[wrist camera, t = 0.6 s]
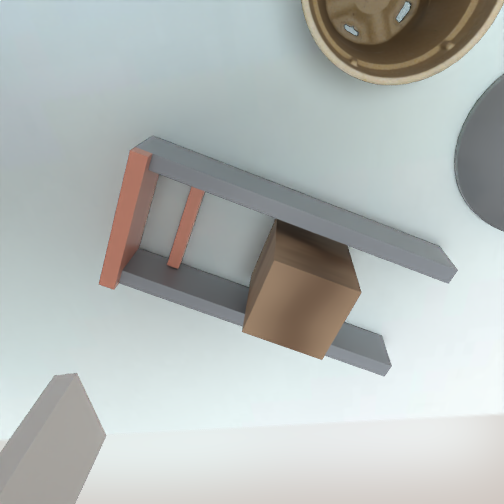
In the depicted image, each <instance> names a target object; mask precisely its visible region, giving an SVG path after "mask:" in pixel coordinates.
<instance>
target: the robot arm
mask: <svg viewBox="0 0 504 504" xmlns="http://www.w3.org/2000/svg"><path fill="white" fill-rule="evenodd" d="M105 438H106V434H105V432H104V430H103V427H102V425H101V423H100V421H99V419H98V417H97V415H96V413H95V410H94V408H93V406H92V404H91V402H90V400H89V398H88V396H87V393H86V391H85V389H84V387H83V385H82V383H81V381H80V378H79V376H78V374H77V373H74V374H64V375H54V377H53V378H52V380H51V381H50V383H49V384H48V385H47V387H46V388H45V390H44V391H43V393H42V394H41V395H40V397H39V398H38V400H37V401H36V402H35V404H34V405H33V407H32V408H31V410H30V411H29V412H28V414H27V415H26V417H25V418H24V420H23V421H22V422H21V424H20V425H19V427H18V428H17V429H16V431H15V432H14V434H13V435H12V437H11V438H10V439H9V441H8V442H7V444H6V445H5V447H4V448H3V450H2V451H1V452H0V504H75V503H76V500H77V498H78V496H79V494H80V492H81V490H82V488H83V485H84V483H85V481H86V479H87V477H88V474H89V472H90V470H91V468H92V466H93V464H94V461H95V459H96V457H97V455H98V453H99V451H100V448H101V446H102V444H103V442H104V440H105Z"/></svg>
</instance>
